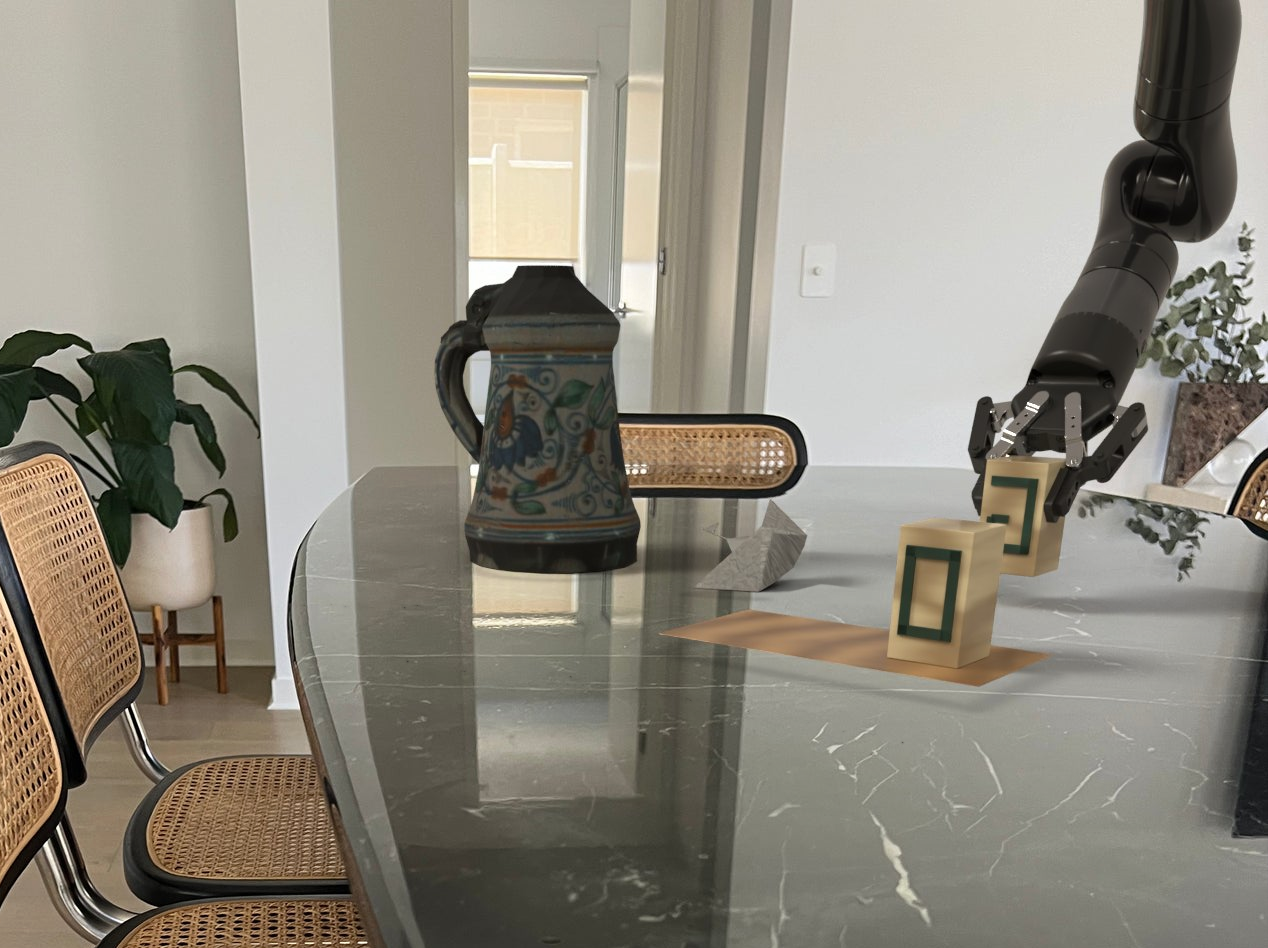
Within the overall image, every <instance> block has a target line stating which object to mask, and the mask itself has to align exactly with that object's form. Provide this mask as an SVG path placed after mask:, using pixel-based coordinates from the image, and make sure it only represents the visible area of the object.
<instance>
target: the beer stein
mask: <svg viewBox="0 0 1268 948" xmlns="http://www.w3.org/2000/svg"><path fill="white" fill-rule="evenodd" d="M465 317H466V319H463V320H458V321H456V322H454V323H453V324H451V325H450V326H449V328H447V330H446V332H444V333H443V334H442V336H441V337H440V345H439V347H438V348H437V349H438V350H437V352H436V356H435V359H434V371H433V375H434V383H435V384H434V385H435V391H436V395H437V398H438V402H439V405H440V408H441V410H442V413H443V415H444V417H445V419H446V421H447V423H448V425H449V426H450V428H451V430H452V431H453V433H454V435H455V436H456V438H457V440H458V441H459V443H461V445H462V446H463V448H464V449H465V450H466V451H467V452H468V454H469V455H470V457H471V458H472V459H474V461H475V462H477V464H478V470H477V476H476V482H475V486H474V491H473V495H472V500H471V504H470V506H469V510H468V512H467V514H466V517H465V519H464V535H465V540H466V543H467V547H468V550H469V561H470V562H472V563H473V564H476V565H477V566H480V567H484V568H489V569H492V570H493V569H494V570H499V571H508V572H521V573H535V574H575V573H578V574H580V573H594V572H595V573H596V572H603V571H604V572H605V571H610V570H616V569H622V568H627V567H628V566H631V565H632V564H634V563H636V562H638V541H639V536H640V533H641V532H640V531H641V518H640V516H639V514H638V511H637V508H636V506H635V504H634V500H633V495H632V492H631V488H630V484H629V480H628V474H627V469H626V464H625V457H624V451H623V442H622V436H621V429H620V418H619V409H618V401H617V400H618V399H617V391H616V382H615V381H616V380H615V373H614V362H613V361H614V360H613V359H614V350H615V348H616V346H617V344H618V342H619V337H620V331H621V323H620V321H619V318H617V317H616V315H615V312H613V311H612V309H610V308H609V307H608V306H607V305H606V304H605V303H603V302H602V300H600V299H599V298H597V296H595V294H594V293H592V292H590V290H589V289H588V288H587V287H586V286H585V285H584V284H583V282H582V281H581V279H580V278H578V276H577V275H576V272H575V268H574V266H573V265H558V264H557V265H556V264H555V265H551V264H550V265H549V264H548V265H547V264H543V265H541V264H538V265H537V264H536V265H533V264H531V265H530V264H528V265H527V264H526V265H517V266H516V268H515V270H514V272H513V274H512V276H511V277H510V278H509V279H507V280H506V281H505V282H503V283H494V284H493V283H492V284H485V285H483V286H480V287H479V288H476V289H475V290H474V291H473V293H472V294H471V295H470V297H469V299H468V301H467V303H466V305H465ZM479 352H489V354H490V371H489V376H488V377H489V378H488V387H487V394H486V403H485V410H484V411H485V412H484V420H483V423H482V422H481V421H480V420H479V418H478V416H477V415H476V413H475V411H474V409H473V407H472V405H471V403H470V401H469V398H468V396H467V393H466V389H465V385H464V374H465V369H466V365H467V362H468V360H469V358H471V357H472V356H473V355H474V354H476V353H479Z"/></svg>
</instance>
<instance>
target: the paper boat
mask: <svg viewBox="0 0 1268 948" xmlns="http://www.w3.org/2000/svg"><path fill="white" fill-rule="evenodd" d="M719 524H720V522H718V521H717V522H716V523H713V524H711V525H709V526H707V527H704V528H702V530H703V531H705V532H708V533H710V534H712V535H713V536H714V535H715V536H717V537H719V538H721V539H724V540H726V542H727V545H728V546H729V549H730V551H731V552H730V554H728V555H727V556H726V557H725V558H724V559H723V560H722V561H720V563H719V564H717V565H716V566H715V567H714V568H713V569H712V570H710V571H709V572H708V573H707V574H706V575H705V576H704V577H703V578H702V579H701V580H700V581H698V582H697V583H696V584H695V585H694V586H693V587H692V588H693V589H705V590H706V589H708V590H723V591H740V592H758V593H759V592H761V591H762V590H764V589H766V588H768V587H770V586H771V585H773V584H774V583H775V582H777V581H778V580H780V579H781V578H782V577H784V576H785V575H787V574H788V573H789V572H790V571H791V570H793V569H794V568H795V566H796V564H797V562H798V560H799V558H800V556H801V554H802V552H803V550H804V548H805V546H806V542H807V538H808V534H807V533H806V532H805V531H804V530H803V529H802V528H801V527H800V526H799V525H798V524H797V523H796V522H795V521H794V520H793V519H792V518H791V517H790V516H789V515H788V514H787V513H786V512H785V511H783V510H782V508H780V506H778V504H776V502H775V501H774V500H772V498H769V500H768V504H767V508H766V511H765V514H764V516H763V519H762V524H761V526H760V527H758V528H757V529H756V530H755V531H754V532H753V533H752V534H751V535H745V536H736V537H725V536H722V535H721V534H718V533H716V531H717V528H718V526H719Z"/></svg>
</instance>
